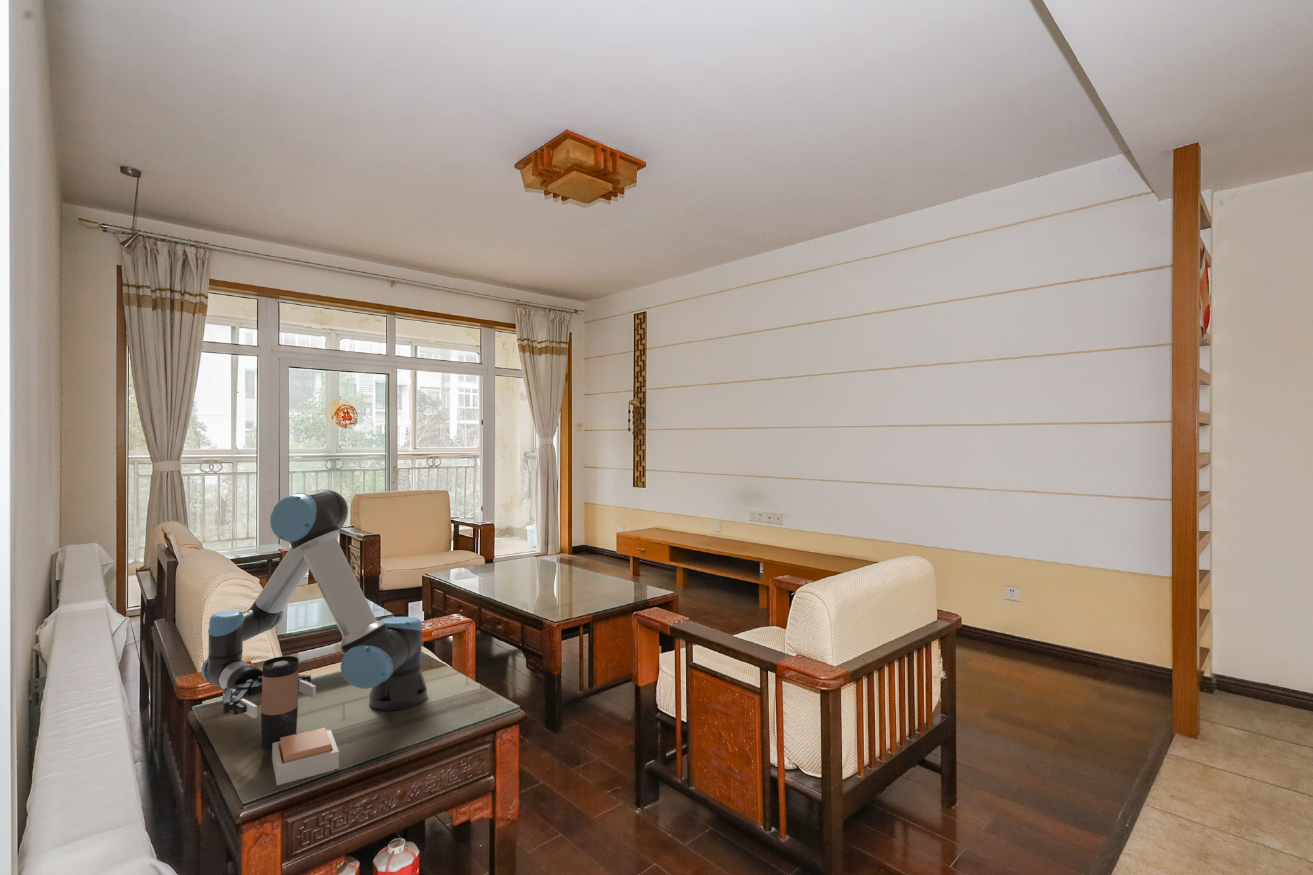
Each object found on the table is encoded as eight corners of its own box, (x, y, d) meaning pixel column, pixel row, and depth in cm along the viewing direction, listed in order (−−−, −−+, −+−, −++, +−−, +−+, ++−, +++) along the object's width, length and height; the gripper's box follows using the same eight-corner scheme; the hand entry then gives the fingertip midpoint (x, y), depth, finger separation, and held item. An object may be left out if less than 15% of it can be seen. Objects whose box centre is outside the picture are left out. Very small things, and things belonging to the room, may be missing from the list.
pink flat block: (324, 739, 148) (325, 727, 148) (330, 756, 141) (331, 743, 141) (279, 750, 143) (280, 737, 143) (283, 768, 135) (284, 755, 135)
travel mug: (296, 732, 156) (298, 653, 156) (297, 746, 149) (299, 664, 149) (260, 739, 152) (262, 659, 151) (260, 754, 145) (262, 669, 145)
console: (330, 745, 150) (330, 729, 150) (338, 768, 140) (339, 751, 140) (272, 760, 143) (272, 743, 143) (276, 785, 133) (277, 767, 133)
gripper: (292, 678, 171) (336, 698, 159) (186, 712, 150) (227, 738, 138) (292, 651, 171) (336, 669, 159) (186, 681, 150) (228, 704, 138)
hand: (286, 701), depth 149 cm, fingers open, 13 cm apart
